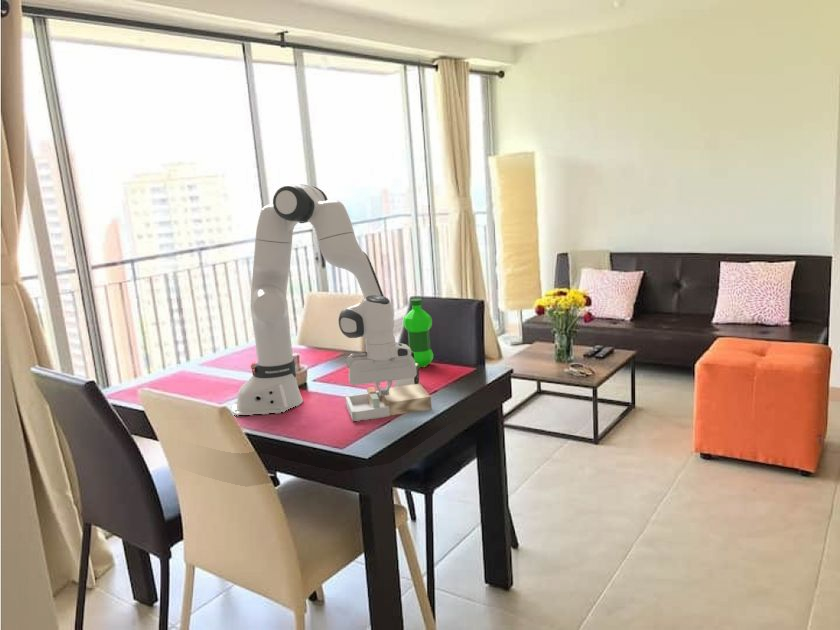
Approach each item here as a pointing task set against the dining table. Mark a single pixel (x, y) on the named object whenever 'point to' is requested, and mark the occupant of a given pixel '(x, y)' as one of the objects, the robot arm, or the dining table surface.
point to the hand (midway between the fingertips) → (384, 395)
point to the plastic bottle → (419, 333)
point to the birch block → (407, 399)
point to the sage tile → (374, 401)
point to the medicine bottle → (410, 380)
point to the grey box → (365, 407)
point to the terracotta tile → (370, 391)
